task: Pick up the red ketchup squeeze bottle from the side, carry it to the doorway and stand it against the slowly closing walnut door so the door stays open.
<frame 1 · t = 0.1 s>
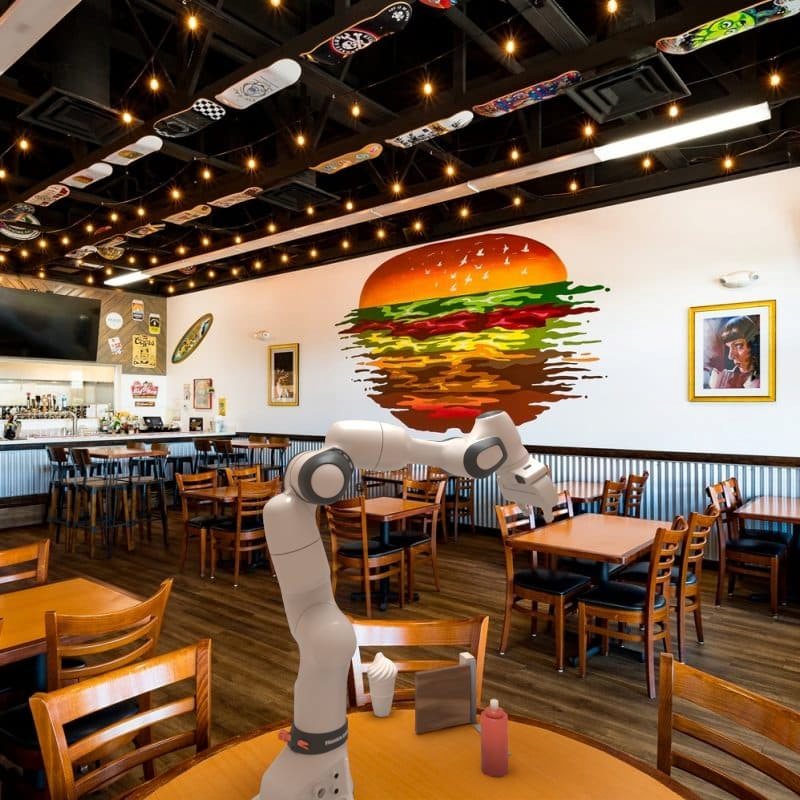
hand: (538, 517, 152), 54 cm above the table, tool tilted 30°, fingers open, 8 cm apart
white-tipped grey slat: (472, 722, 158), on the table
door: (441, 696, 156), point 8 cm above the table, hinge at 88.0°
soft serve ice cream cone: (381, 714, 163), on the table
ketchup bottle: (494, 769, 136), on the table
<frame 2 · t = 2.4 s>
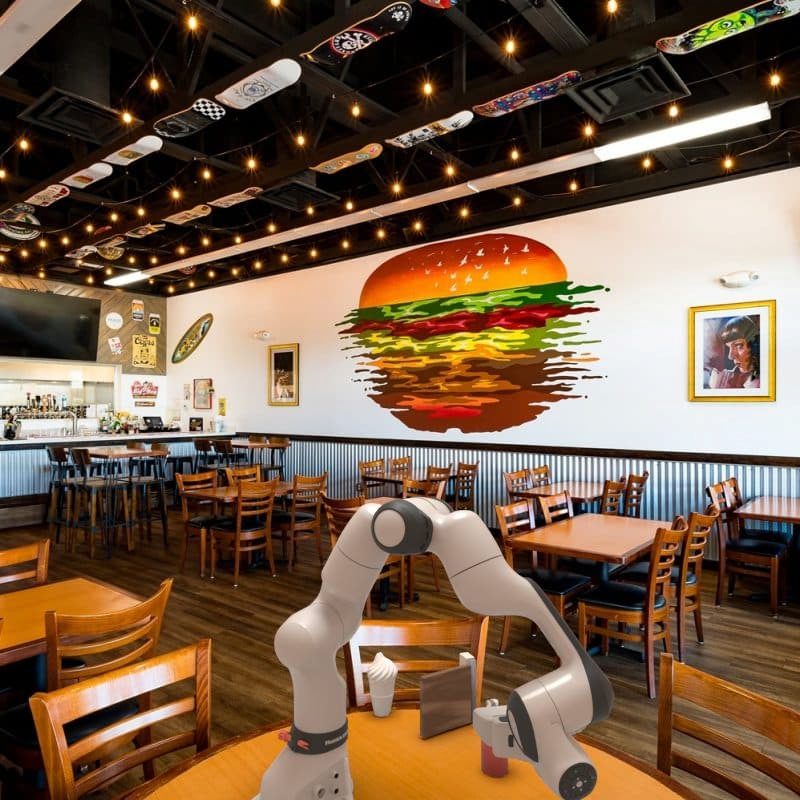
hand: (511, 701, 126), 20 cm above the table, tool horizontal, fingers open, 8 cm apart
door: (444, 698, 154), point 8 cm above the table, hinge at 78.3°
everything else where it was.
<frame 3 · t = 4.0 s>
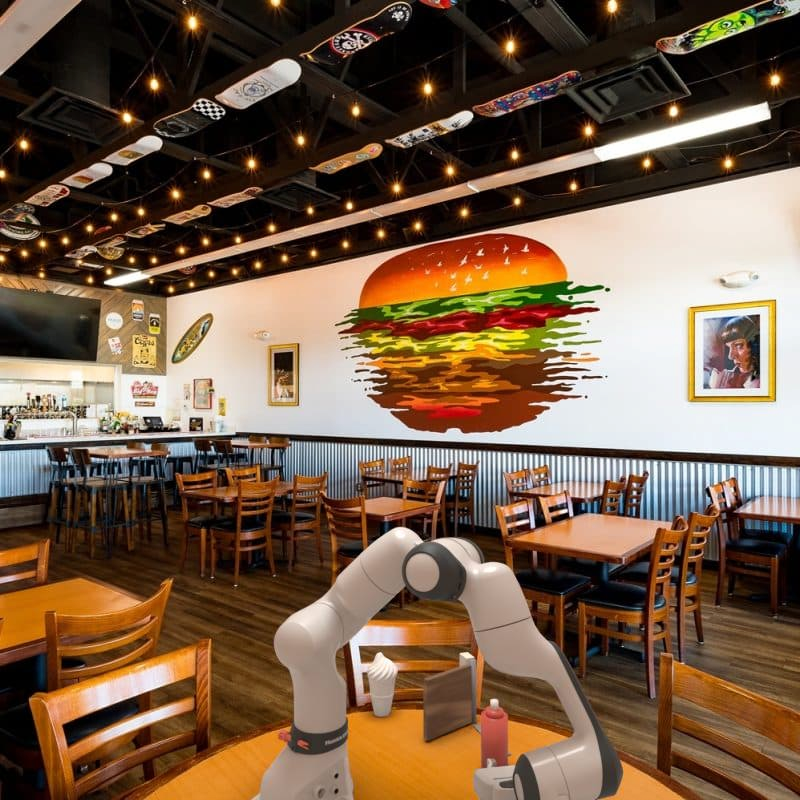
hand: (511, 759, 126), 8 cm above the table, tool horizontal, fingers open, 8 cm apart
door: (446, 699, 154), point 8 cm above the table, hinge at 73.0°
everything else where it was.
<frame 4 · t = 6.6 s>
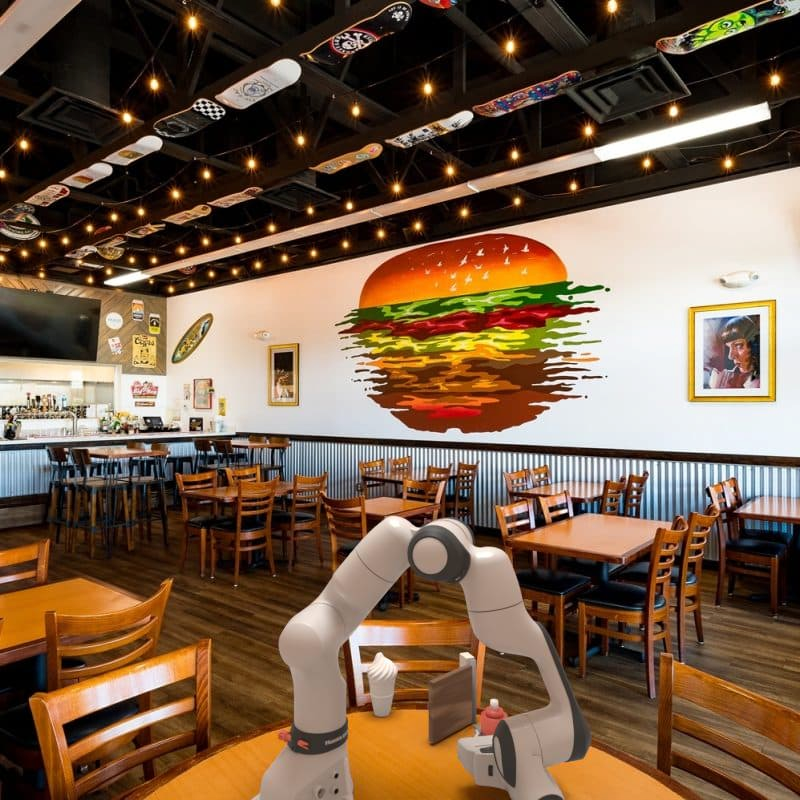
hand: (493, 731, 138), 8 cm above the table, tool horizontal, fingers closed on ketchup bottle, 6 cm apart
door: (448, 701, 153), point 8 cm above the table, hinge at 66.2°
ketchup bottle: (494, 769, 136), on the table, touching gripper
everything else where it was.
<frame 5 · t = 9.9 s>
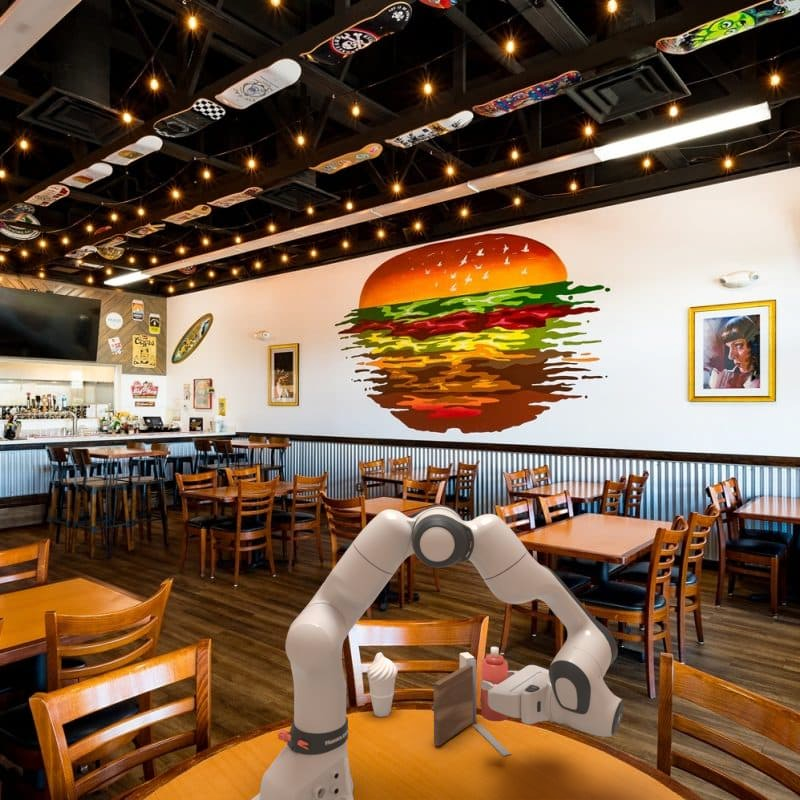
hand: (491, 678, 141), 19 cm above the table, tool horizontal, fingers closed on ketchup bottle, 6 cm apart
door: (451, 702, 152), point 8 cm above the table, hinge at 60.2°
ketchup bottle: (494, 715, 140), point 11 cm above the table, touching gripper
everything else where it was.
when the fingers open (9 cm above the table, at t = 13.2 s): ketchup bottle drops 1 cm, on the table.
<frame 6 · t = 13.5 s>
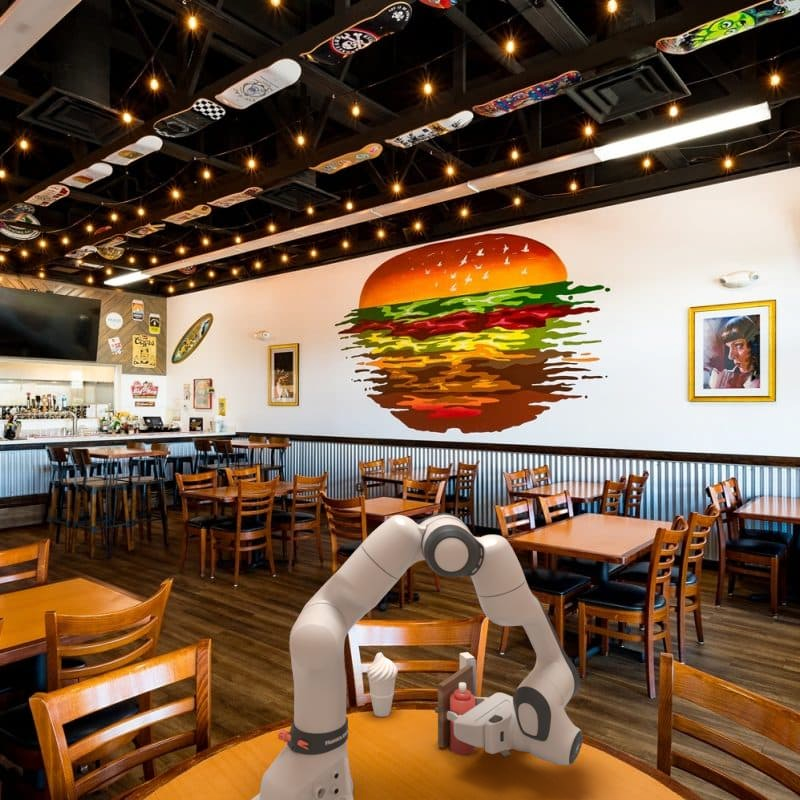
hand: (459, 706, 146), 9 cm above the table, tool horizontal, fingers open, 8 cm apart
door: (453, 703, 152), point 8 cm above the table, hinge at 55.8°
ketchup bottle: (462, 748, 145), on the table
everything else where it was.
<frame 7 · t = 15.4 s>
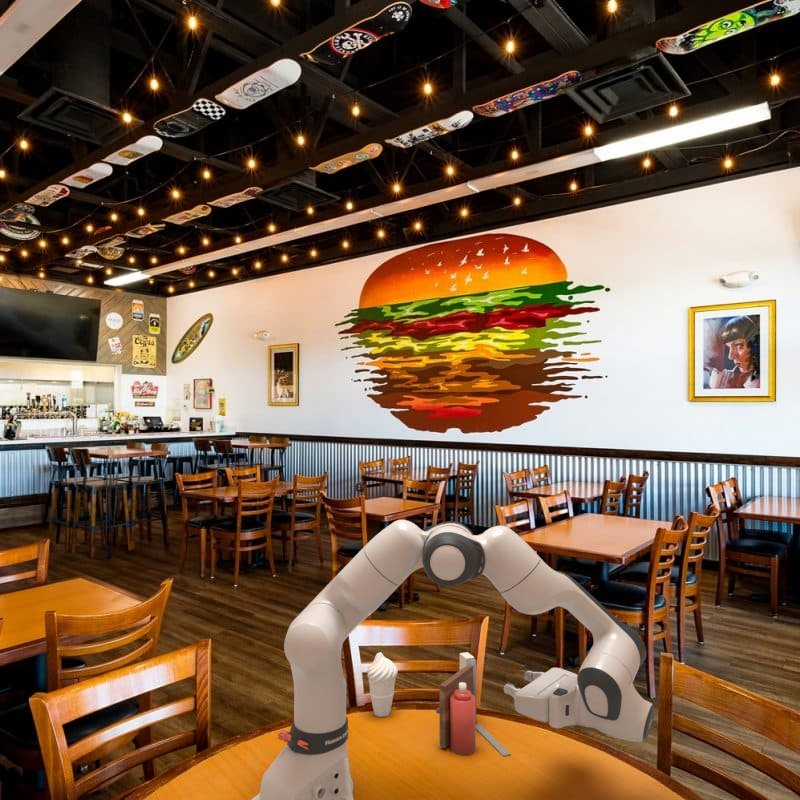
hand: (515, 681, 139), 19 cm above the table, tool horizontal, fingers open, 8 cm apart
door: (454, 703, 152), point 8 cm above the table, hinge at 54.2°, touching ketchup bottle
ketchup bottle: (462, 748, 145), on the table, touching door
everything else where it was.
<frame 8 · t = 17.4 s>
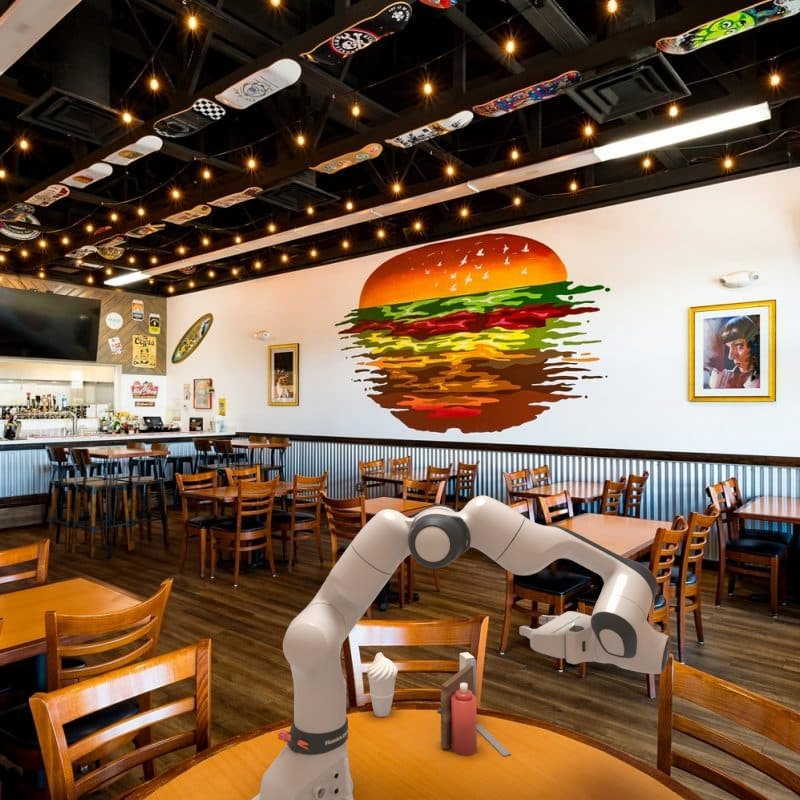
hand: (530, 624, 139), 32 cm above the table, tool horizontal, fingers open, 8 cm apart
door: (455, 703, 151), point 8 cm above the table, hinge at 52.9°, touching ketchup bottle
everything else where it was.
at the end: ketchup bottle inside the target area (0.6 cm from its centre), on the table; ketchup bottle tilted 0°; door at +53° (first picture: +89°) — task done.
